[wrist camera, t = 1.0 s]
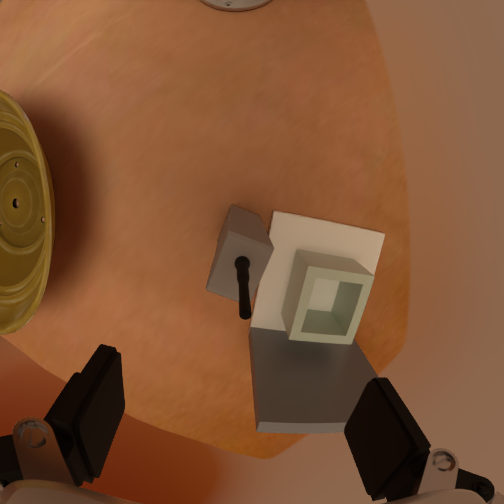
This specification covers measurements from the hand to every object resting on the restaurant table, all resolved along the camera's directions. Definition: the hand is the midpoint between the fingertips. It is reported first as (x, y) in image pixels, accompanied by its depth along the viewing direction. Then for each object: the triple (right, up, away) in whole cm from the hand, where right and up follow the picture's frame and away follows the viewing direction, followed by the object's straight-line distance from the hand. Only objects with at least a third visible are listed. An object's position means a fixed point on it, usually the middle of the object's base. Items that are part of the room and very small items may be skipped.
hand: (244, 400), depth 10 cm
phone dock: (+9, +1, +31) cm, 33 cm away
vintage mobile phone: (-2, +9, +29) cm, 30 cm away
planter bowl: (-36, +13, +26) cm, 46 cm away
